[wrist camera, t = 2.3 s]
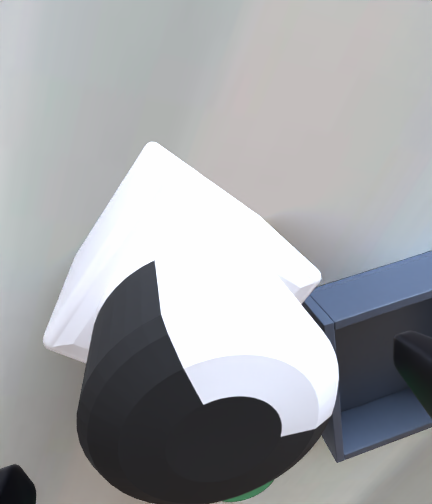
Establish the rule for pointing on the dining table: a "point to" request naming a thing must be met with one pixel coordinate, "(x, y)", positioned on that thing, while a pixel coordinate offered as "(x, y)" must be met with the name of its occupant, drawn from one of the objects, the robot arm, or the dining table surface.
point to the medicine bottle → (191, 341)
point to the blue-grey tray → (373, 352)
